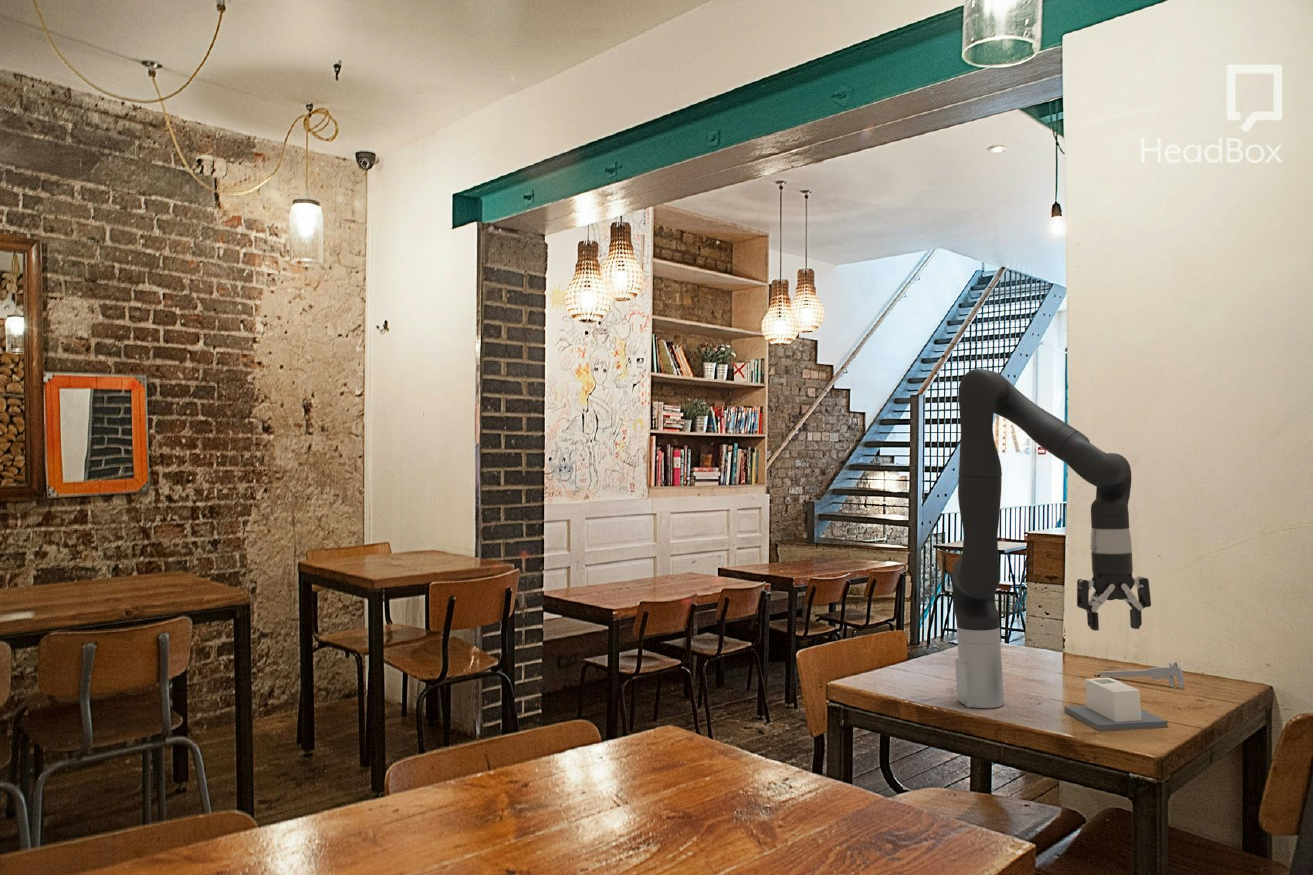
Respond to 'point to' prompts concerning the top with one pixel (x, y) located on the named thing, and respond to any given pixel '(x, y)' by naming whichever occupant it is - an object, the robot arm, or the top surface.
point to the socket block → (1113, 699)
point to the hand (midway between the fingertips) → (1115, 629)
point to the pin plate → (1107, 724)
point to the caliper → (1152, 674)
